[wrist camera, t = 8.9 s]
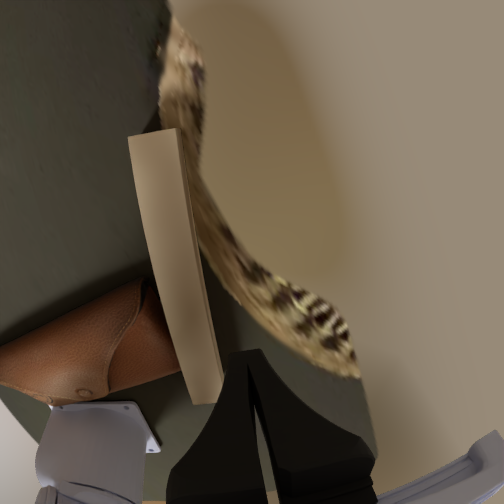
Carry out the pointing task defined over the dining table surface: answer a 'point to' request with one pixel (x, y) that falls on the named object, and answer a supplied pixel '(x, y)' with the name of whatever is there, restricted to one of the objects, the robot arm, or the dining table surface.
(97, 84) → the dining table surface
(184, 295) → the bar
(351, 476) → the robot arm
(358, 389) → the dining table surface
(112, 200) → the dining table surface
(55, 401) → the sunglasses case
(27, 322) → the dining table surface
